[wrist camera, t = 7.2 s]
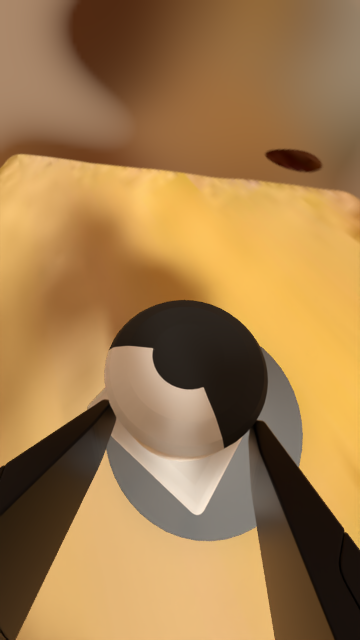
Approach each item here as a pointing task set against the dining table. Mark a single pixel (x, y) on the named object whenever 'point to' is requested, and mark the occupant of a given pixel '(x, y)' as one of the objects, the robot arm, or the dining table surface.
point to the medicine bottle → (184, 394)
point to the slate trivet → (234, 486)
